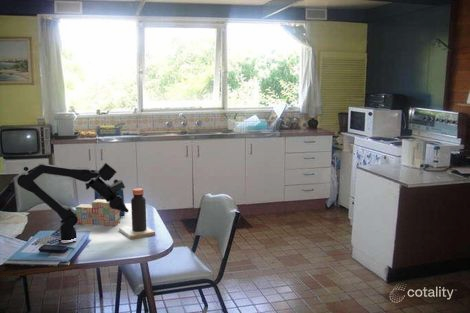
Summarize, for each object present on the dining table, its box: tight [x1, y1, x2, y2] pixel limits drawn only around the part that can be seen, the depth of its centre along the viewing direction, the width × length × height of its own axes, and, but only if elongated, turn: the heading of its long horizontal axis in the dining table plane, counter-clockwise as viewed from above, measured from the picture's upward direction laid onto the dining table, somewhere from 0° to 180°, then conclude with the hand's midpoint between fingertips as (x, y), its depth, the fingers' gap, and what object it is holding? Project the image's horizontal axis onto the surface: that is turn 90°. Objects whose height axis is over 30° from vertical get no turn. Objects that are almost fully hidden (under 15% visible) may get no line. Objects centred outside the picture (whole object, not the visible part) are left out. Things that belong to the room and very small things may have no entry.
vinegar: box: [130, 187, 147, 232], centre depth 221 cm, size 7×7×20 cm
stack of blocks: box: [74, 199, 121, 227], centre depth 237 cm, size 21×6×12 cm, turn 81°
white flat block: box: [118, 224, 156, 240], centre depth 222 cm, size 12×16×2 cm
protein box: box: [93, 188, 126, 218], centre depth 253 cm, size 10×15×16 cm
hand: (126, 209), depth 218 cm, fingers open, 9 cm apart
